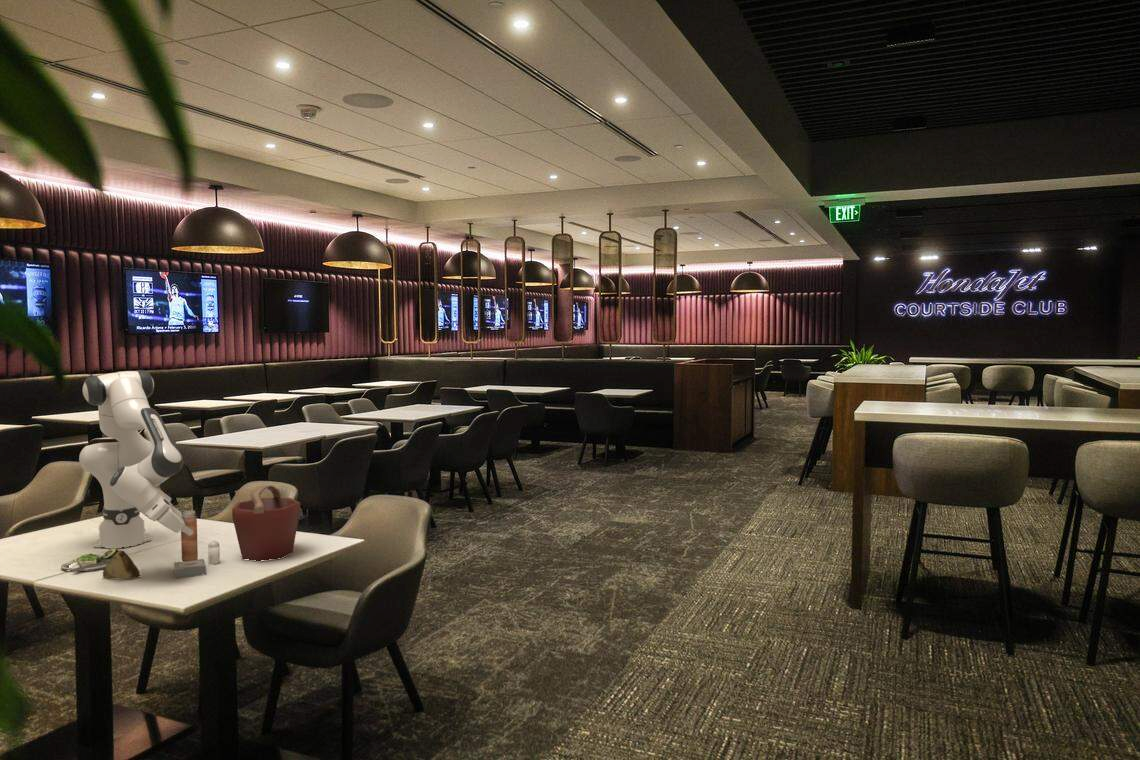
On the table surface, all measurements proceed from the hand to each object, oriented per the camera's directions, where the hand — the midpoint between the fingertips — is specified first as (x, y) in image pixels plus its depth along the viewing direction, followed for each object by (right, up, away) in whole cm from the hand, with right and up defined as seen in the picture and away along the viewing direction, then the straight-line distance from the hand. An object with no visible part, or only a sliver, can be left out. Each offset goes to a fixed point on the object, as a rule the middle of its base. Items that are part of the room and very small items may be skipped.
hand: (191, 531), depth 257 cm
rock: (-21, -14, -4) cm, 26 cm away
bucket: (+16, -13, +22) cm, 30 cm away
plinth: (-1, -14, +1) cm, 14 cm away
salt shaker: (+2, -13, +11) cm, 18 cm away
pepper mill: (-1, -9, 0) cm, 9 cm away
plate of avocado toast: (-38, -14, +10) cm, 42 cm away
